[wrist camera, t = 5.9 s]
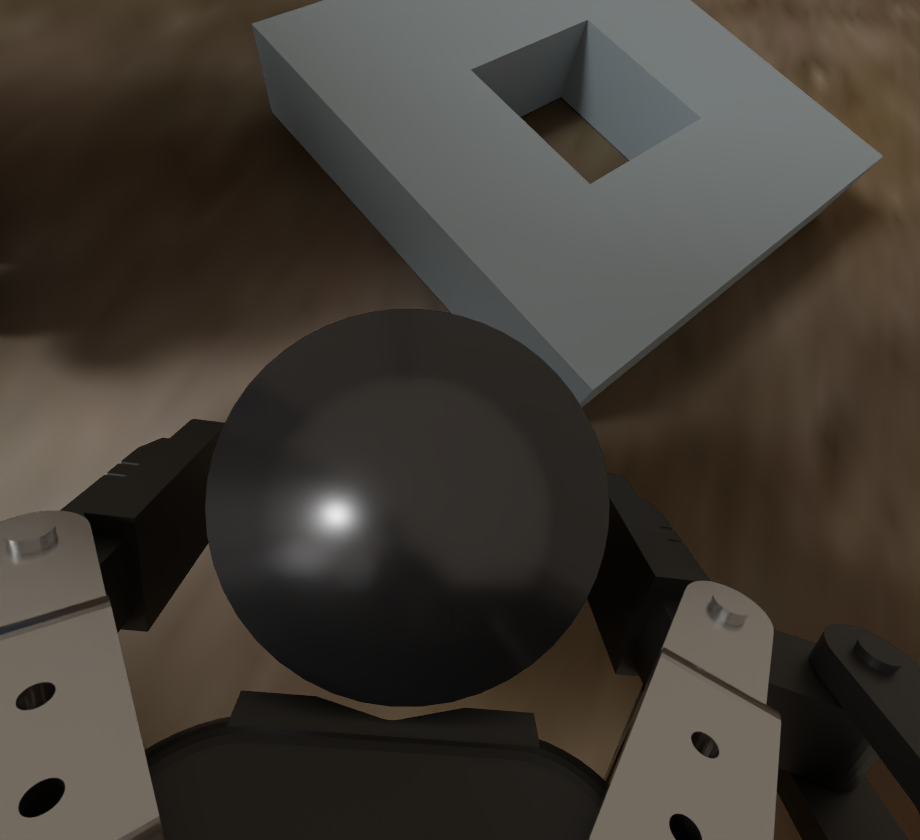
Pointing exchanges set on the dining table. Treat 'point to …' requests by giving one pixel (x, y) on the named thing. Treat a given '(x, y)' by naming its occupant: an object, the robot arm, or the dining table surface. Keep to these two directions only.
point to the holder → (559, 158)
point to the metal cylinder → (407, 507)
